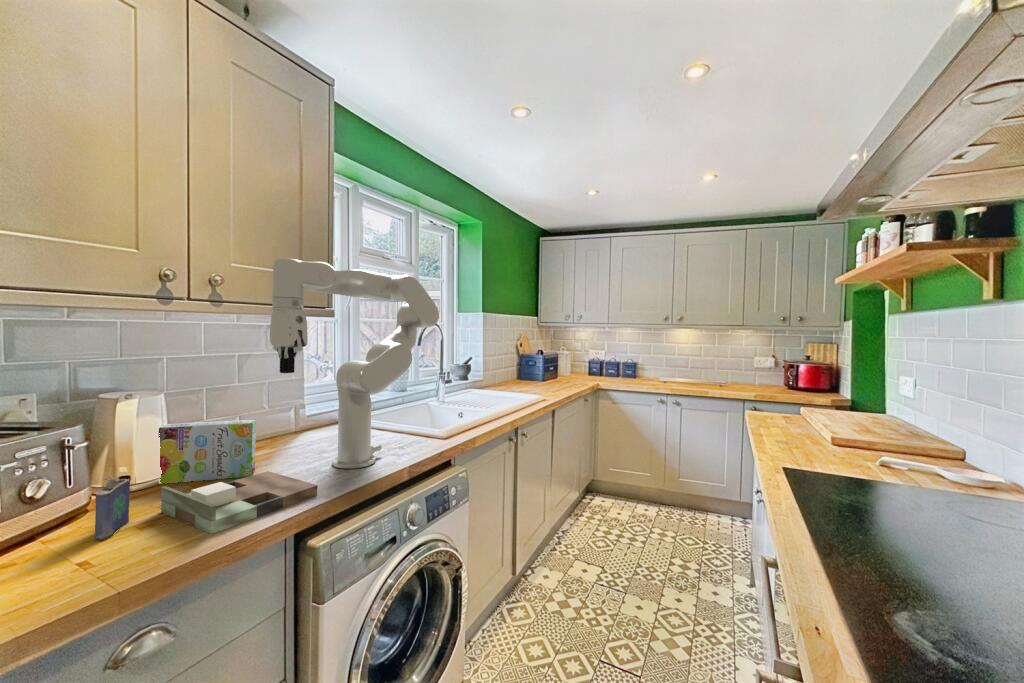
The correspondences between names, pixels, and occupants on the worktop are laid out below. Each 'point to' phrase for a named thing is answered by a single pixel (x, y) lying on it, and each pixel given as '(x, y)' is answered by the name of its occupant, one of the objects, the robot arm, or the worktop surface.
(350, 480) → the worktop surface
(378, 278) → the robot arm
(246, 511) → the box
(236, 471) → the snack box
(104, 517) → the flask
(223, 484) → the block
